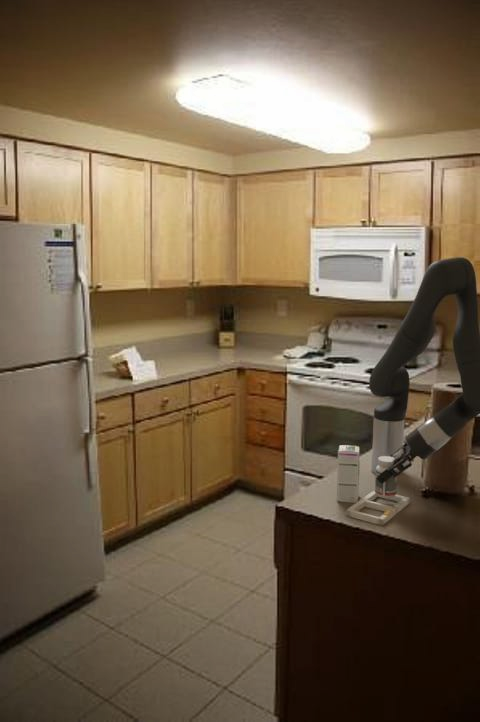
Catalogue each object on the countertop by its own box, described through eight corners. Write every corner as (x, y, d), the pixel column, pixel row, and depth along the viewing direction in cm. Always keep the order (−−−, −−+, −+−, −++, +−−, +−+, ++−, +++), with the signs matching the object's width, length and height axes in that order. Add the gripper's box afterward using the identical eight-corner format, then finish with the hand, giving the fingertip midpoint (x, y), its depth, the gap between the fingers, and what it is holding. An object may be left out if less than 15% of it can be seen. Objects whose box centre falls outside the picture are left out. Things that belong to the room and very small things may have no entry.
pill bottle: (397, 491, 172) (399, 456, 170) (395, 499, 166) (397, 463, 164) (376, 488, 173) (377, 454, 172) (373, 496, 168) (375, 461, 166)
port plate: (374, 494, 177) (375, 488, 176) (409, 503, 171) (409, 496, 171) (345, 515, 162) (346, 508, 162) (382, 525, 156) (382, 518, 156)
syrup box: (358, 503, 170) (360, 451, 168) (336, 501, 171) (337, 450, 169) (358, 495, 176) (360, 445, 173) (337, 494, 177) (339, 444, 175)
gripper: (418, 420, 171) (371, 457, 176) (418, 435, 157) (367, 475, 163) (437, 440, 171) (390, 477, 176) (439, 457, 157) (388, 497, 162)
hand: (379, 476), depth 169 cm, fingers closed on pill bottle, 5 cm apart
